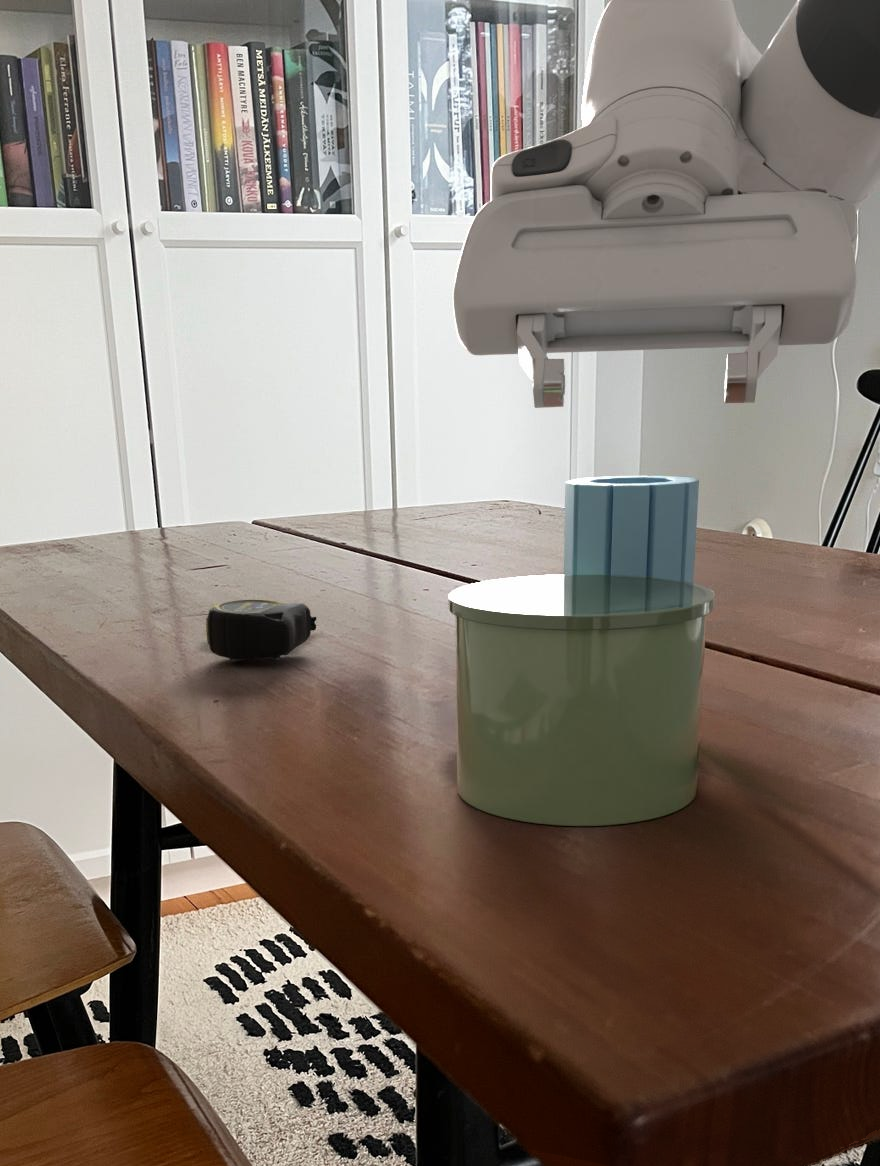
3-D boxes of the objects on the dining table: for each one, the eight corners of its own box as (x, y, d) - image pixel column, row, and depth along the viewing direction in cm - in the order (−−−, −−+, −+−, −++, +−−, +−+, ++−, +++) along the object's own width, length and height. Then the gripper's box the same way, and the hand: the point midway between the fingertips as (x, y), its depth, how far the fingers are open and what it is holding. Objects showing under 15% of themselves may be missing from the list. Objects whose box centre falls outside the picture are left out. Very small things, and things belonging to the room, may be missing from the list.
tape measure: (289, 670, 85) (285, 614, 83) (193, 667, 86) (189, 612, 85) (318, 650, 91) (315, 597, 90) (228, 648, 93) (225, 596, 91)
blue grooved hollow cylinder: (663, 625, 69) (670, 474, 67) (707, 647, 63) (717, 482, 61) (550, 631, 69) (552, 478, 66) (584, 654, 63) (588, 487, 60)
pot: (676, 841, 52) (691, 568, 48) (413, 813, 56) (407, 560, 52) (745, 723, 69) (760, 515, 65) (540, 709, 73) (542, 513, 69)
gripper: (846, 240, 69) (851, 437, 64) (476, 258, 73) (451, 444, 68) (866, 134, 63) (873, 339, 58) (464, 160, 67) (435, 354, 62)
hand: (642, 396), depth 63 cm, fingers open, 8 cm apart
